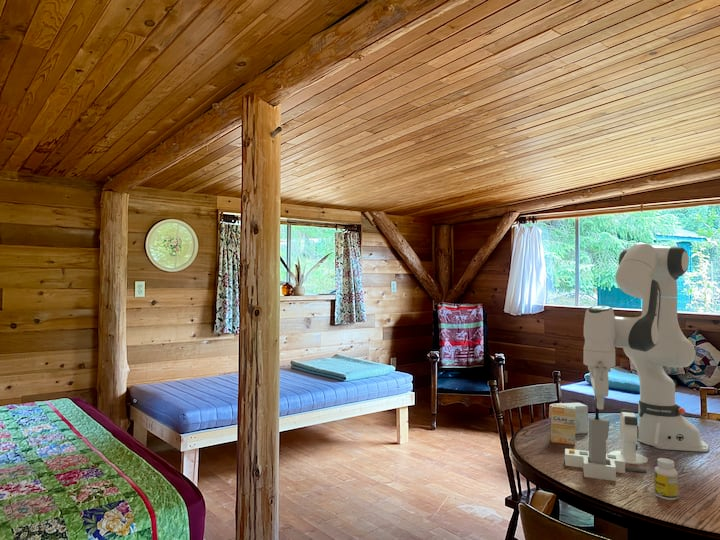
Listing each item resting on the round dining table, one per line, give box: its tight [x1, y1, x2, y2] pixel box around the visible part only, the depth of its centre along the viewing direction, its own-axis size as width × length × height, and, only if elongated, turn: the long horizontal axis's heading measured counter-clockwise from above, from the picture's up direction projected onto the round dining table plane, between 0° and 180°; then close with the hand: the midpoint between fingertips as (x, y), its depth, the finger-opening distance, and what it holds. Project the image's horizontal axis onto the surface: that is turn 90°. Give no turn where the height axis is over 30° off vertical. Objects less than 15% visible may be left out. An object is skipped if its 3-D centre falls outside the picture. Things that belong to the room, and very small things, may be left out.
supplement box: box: [550, 403, 576, 446], centre depth 184 cm, size 8×5×13 cm, turn 68°
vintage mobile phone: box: [588, 397, 610, 465], centre depth 155 cm, size 4×5×25 cm
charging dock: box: [564, 448, 647, 482], centre depth 157 cm, size 23×14×4 cm, turn 68°
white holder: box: [608, 408, 649, 465], centre depth 169 cm, size 12×11×15 cm
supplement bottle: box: [654, 457, 679, 501], centre depth 139 cm, size 5×5×10 cm
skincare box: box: [554, 402, 589, 435], centre depth 197 cm, size 10×6×10 cm, turn 98°
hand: (599, 405), depth 155 cm, fingers open, 8 cm apart
